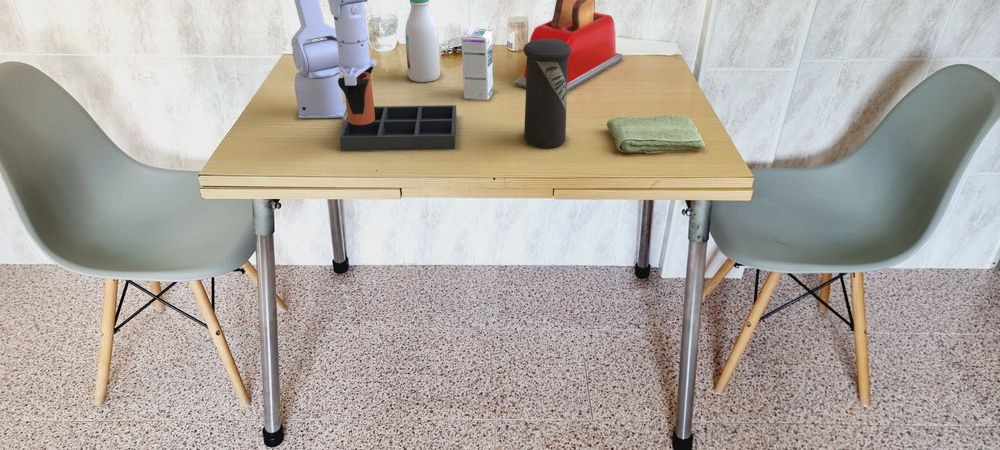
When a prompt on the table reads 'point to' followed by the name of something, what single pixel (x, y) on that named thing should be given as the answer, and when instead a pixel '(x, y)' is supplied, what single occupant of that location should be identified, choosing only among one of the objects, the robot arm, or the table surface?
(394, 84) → the table surface
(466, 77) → the syrup box
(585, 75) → the toaster
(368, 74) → the jar
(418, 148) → the tray
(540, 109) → the container
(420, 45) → the milk bottle
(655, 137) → the washcloth
